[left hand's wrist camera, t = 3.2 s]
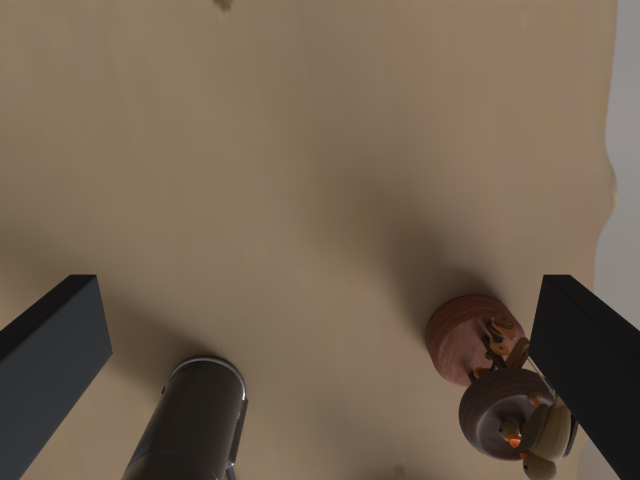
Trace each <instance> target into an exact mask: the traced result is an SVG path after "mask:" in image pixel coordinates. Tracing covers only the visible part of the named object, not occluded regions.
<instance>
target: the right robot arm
mask: <svg viewBox="0 0 640 480" xmlns="http://www.w3.org/2000/svg"><path fill="white" fill-rule="evenodd" d="M247 405H248V400H247V399H246V398H245V383H244V380H243V377H242V376H241V374H240V373H239V371H238V370H237V369H236V368H235V367H234V366H232V365H231V364H230V363H228V362H226V361H224V360H222V359H219V358H215V357H210V356H198V357H193V358H190V359H187V360H185V361H183V362H182V363H180V364H179V365H178V366H177V367H176V368H175V369H174V371H173V373H172V375H171V377H170V379H169V382H168V385H167V387H166V389H165V387H164V389H163V391H162V397H161V399H160V401H159V403H158V405H157V407H156V409H155V411H154V413H153V415H152V417H151V419H150V421H149V423H148V425H147V427H146V429H145V431H144V433H143V435H142V437H141V439H140V441H139V443H138V446H137V448H136V450H135V452H134V454H133V456H132V458H131V460H130V462H129V464H128V466H127V468H126V470H125V472H124V474H123V476H122V478H121V480H224V477H225V472H227V476H228V479H229V480H235V477H234V473H233V469H232V466H233V465H234V463H235V460H236V455H237V451H238V446H239V442H240V437H241V433H242V428H243V423H244V419H245V414H246V410H247Z"/></svg>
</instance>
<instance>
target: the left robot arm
mask: <svg viewBox="0 0 640 480" xmlns="http://www.w3.org/2000/svg"><path fill="white" fill-rule="evenodd" d="M112 354H113V353H112V348H111V343H110V338H109V333H108V329H107V324H106V319H105V314H104V309H103V304H102V300H101V295H100V290H99V285H98V280H97V275H69V276H68V277H67V278H66V279H64V280H63V281H62V282H61V283H59V284H58V285H57V286H56V287H54V288H53V289H52V290H51V291H49V292H48V293H47V294H46V295H44V296H43V297H42V298H41V299H40V300H38V301H37V302H36V303H35V304H33V305H32V306H31V307H30V308H28V309H27V310H26V311H25V312H23V313H22V314H21V315H20V316H18V317H17V318H16V319H15V320H13V321H12V322H11V323H10V324H9V325H7V326H6V327H5V328H4V329H2V330H1V331H0V480H19V479H20V478H21V477H22V475H23V474H24V473H25V471H26V470H27V468H28V467H29V466H30V464H31V463H32V462H33V460H34V459H35V458H36V456H37V455H38V454H39V452H40V451H41V450H42V448H43V447H44V446H45V444H46V443H47V441H48V440H49V439H50V437H51V436H52V435H53V433H54V432H55V431H56V429H57V428H58V427H59V425H60V424H61V423H62V421H63V420H64V418H65V417H66V416H67V414H68V413H69V412H70V410H71V409H72V408H73V406H74V405H75V404H76V402H77V401H78V400H79V398H80V397H81V396H82V394H83V393H84V391H85V390H86V389H87V387H88V386H89V385H90V383H91V382H92V381H93V379H94V378H95V377H96V375H97V374H98V373H99V371H100V370H101V368H102V367H103V366H104V364H105V363H106V362H107V360H108V359H109V358H110V356H111V355H112ZM527 354H528V355H529V356H530V358H531V359H532V360H533V362H534V363H535V364H536V366H537V367H538V368H539V370H540V371H541V373H542V374H543V375H544V377H545V378H546V379H547V381H548V382H549V383H550V385H551V386H552V387H553V389H554V390H555V391H556V393H557V394H558V396H559V397H560V398H561V400H562V401H563V402H564V404H565V405H566V406H567V408H568V409H569V410H570V412H571V413H572V414H573V416H574V417H575V418H576V420H577V421H578V423H579V424H580V425H581V427H582V428H583V429H584V431H585V432H586V433H587V435H588V436H589V437H590V439H591V440H592V441H593V443H594V444H595V445H596V447H597V448H598V450H599V451H600V452H601V454H602V455H603V456H604V458H605V459H606V460H607V462H608V463H609V464H610V466H611V467H612V468H613V470H614V471H615V473H616V474H617V475H618V477H619V478H620V479H621V480H640V331H639V330H638V329H636V328H635V327H634V326H633V325H631V324H630V323H629V322H628V321H627V320H625V319H624V318H623V317H622V316H620V315H619V314H618V313H617V312H615V311H614V310H613V309H612V308H610V307H609V306H608V305H607V304H605V303H604V302H603V301H602V300H600V299H599V298H598V297H597V296H596V295H594V294H593V293H592V292H591V291H589V290H588V289H587V288H586V287H584V286H583V285H582V284H581V283H579V282H578V281H577V280H576V279H574V278H573V277H572V276H571V275H543V280H542V285H541V290H540V295H539V300H538V304H537V309H536V314H535V319H534V324H533V329H532V333H531V338H530V343H529V348H528V353H527Z"/></svg>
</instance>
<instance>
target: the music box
mask: <svg viewBox="0 0 640 480" xmlns="http://www.w3.org/2000/svg"><path fill="white" fill-rule="evenodd" d="M529 343H530V341H529V340H528V339H527V338H526V337H525V333H524V331H523V329H522V327H521V325H520V324H519V323H518V321H517V320H516V319H515V318H514V316H513V315H512V314H511V313H510V311H509V310H508V309H507V308H506V307H505V306H504V305H503V304H502V303H500V302H499V301H497V300H495V299H493V298H490V297H486V296H480V295H471V296H464V297H460V298H457V299H455V300H452V301H450V302H449V303H447V304H445V305H444V306H443V307H441V308H440V309H439V310H438V311H437V312H436V313H435V314H434V316H433V317H432V318H431V320H430V322H429V324H428V327H427V330H426V345H427V349H428V351H429V354H430V356H431V359H432V361H433V364H434V366H435V368H436V370H437V372H438V373H439V374H440V375H441V376H442V377H443V378H444V379H446V380H447V381H449V382H451V383H453V384H455V385H458V386H462V387H468V388H467V390H466V391H465V393H464V395H463V397H462V399H461V402H460V406H459V422H460V426H461V429H462V432H463V434H464V436H465V437H466V439H467V440H468V441H469V443H470V444H471V445H472V446H473V447H474V448H475V449H476V450H478V451H479V452H481V453H482V454H484V455H486V456H488V457H490V458H493V459H497V460H501V461H521V460H523V468H524V471H525V473H526V475H527V477H528V478H529V479H530V480H554V479H555V477H556V472H557V471H556V466H555V463H554V461H557V460H559V459H560V458H565V457H567V456H568V455H569V452H570V450H571V448H572V445H573V442H574V439H575V436H576V433H577V429H578V425H579V423H578V421H577V420H576V418H575V417H574V416H573V414H572V413H571V412H570V410H569V409H568V408H567V406H566V405H565V404H564V402H563V401H562V400H561V398H560V397H559V396H558V394H557V393H556V391H555V390H554V389H553V387H552V386H551V385H550V383H549V382H548V381H547V379H546V378H544V377H543V376H541V375H540V373H539V372H538V371H537V369H536V368H535V367H534V365H533V364H532V363H531V361H530V360H529V358H528V356H529V355H528V354H527V353H528V348H529ZM527 359H528V361H529V362H530V364H531V365H532V366H533V368H534V369H535V370H536V372H537V373H535V372H533V371H530V370H527V369H522V366H523V364H524V363H525V361H526V360H527Z"/></svg>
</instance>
